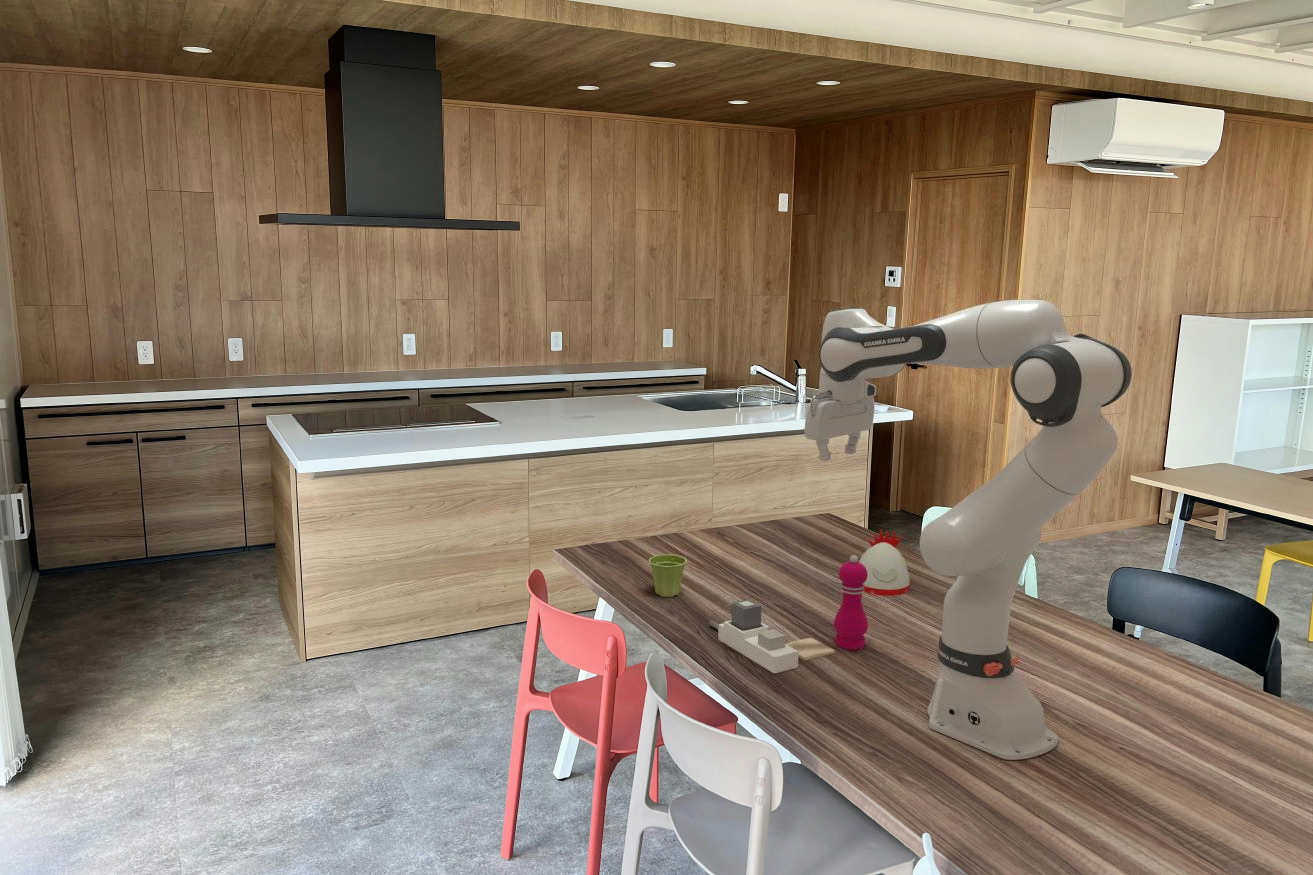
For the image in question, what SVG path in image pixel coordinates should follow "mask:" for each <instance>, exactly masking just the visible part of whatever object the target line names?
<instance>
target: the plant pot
mask: <svg viewBox="0 0 1313 875" xmlns="http://www.w3.org/2000/svg"><path fill="white" fill-rule="evenodd" d="M648 562H649V564H650V568H651V571H652V577H653V584H654V585H653V586H654V590H655V591H654V592H655V594H656V595H659V596H660V597H663V598H672V597H674V596H679V595H680V593H681V586H682V581H683V574H684V569H685V567H686V565H687V562H688V559H687V558H686V557H684V556H681V555H677V554H657V555H654V556H652V557H650V558H649V559H648Z"/></svg>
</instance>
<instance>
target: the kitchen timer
mask: <svg viewBox="0 0 1313 875" xmlns="http://www.w3.org/2000/svg"><path fill="white" fill-rule="evenodd" d="M879 531H880V532H879V535H878V536H879V537H878V536H877V535H876V533H874V534H873V536H874V542H872V541H871V539H870V537H868V543H869V547H868V548H867V549H866V551H864V553H863V554H862V555H861V557H860V559H859V560H858V562H859V563H861V564H863V565H864V566H865V568H866V569H867V574H868V576H867V580H866V581H865V582H864V583H863V584H864V586H865V587H864V592H863V593H866V594H870V595H875V596H882V597H883V596H884V597H886V596H889V597H891V596H892V597H893V596H900V595H904V594H906V593H908V592H909V591H910V586H911V585H910V584H911V580H910V575H909V571H908V566H907V562H908V561H907V560H906V558H904V556H903V555H902V553H901V552H900V550H899V549H898V548H897V547H898V545H899V543H900V541H901V539H902V535H900V536H899V537H898V538H897V539H896V536H897V535H896V531H893V533H892V536H891V538H890V535H889V531H888V530H886V532H885V536H884V534H883V529H880V530H879Z"/></svg>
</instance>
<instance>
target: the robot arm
mask: <svg viewBox="0 0 1313 875" xmlns="http://www.w3.org/2000/svg"><path fill="white" fill-rule="evenodd" d="M822 326H823V327H822V333H821V341H820V342H821V344H820V347H819V351H818V360H819V362H820V365H821V368H820V370H819V385H818V392H817V393H814V395H813V397H812V398H811V399H810V402H809V404H808V406H807V408H806V409H807V410H806V415H805V421H804V430H803V431H804V436H805V438H806V440H811V441H815V444H816V447H817V449H818V451H819V454H818V458H819V460H820V461H822V462H823V461H825V462H826V461H829V460H831V458H832V457H831V454H832V451H830V450H829V447H828V445H830V439H833V438H838V437H843V436H848V440H847V444H845V445H844V453H845V454H847V455H854V454H856V453H857V445H858V443H859V441H860V439H861V433H862V432H865V431H870V430H871V427H872V426H873V423H874V418H875V417H874V416H875V402H876V401H875V396H876V395H877V390H878V389H877V385H876V384H873V383H871V382H869V381H867V380H865V379H877V378H886V377H891V376H894V375H897V374H899V373H900V372H901V371H902V370H903V369H904V368H905V366H906V364H910V365H911V364H919V365H931V366H942V367H951V368H953V367H954V368H963V369H974V370H975V369H976V370H981V369H982V370H985V369H986V370H987V369H989V370H990V369H1002V368H1009V367H1012V369H1011V371H1010V385H1011V386H1010V387H1011V390H1012V393H1013V394H1014V397H1015V398H1016V400H1017V402H1018V403H1019V404H1020V406H1021V407H1023V409H1025V411H1026V412H1027V414H1028V417H1029V418H1030V420H1031V421H1032V422H1033V423H1034V424H1037V425H1039V426H1042V427H1041V429H1040V430H1039V432H1038V433H1037V434H1036V435H1035V436H1034V437H1032V439H1031V440H1030V441H1029V442H1028V443H1027V444H1026V445H1025V446H1024V447H1022V448H1021V450H1020V451H1019V452H1018V453H1017V454H1016V455H1015V456H1014V457H1013V458H1012V459H1011V460H1010V461H1009V462H1008V463H1007V464H1006V465H1005V466H1004V467H1003V468H1002V469H1001V470H1000V471H999V472H998V473H997V474H995V476H994V477H992V478H991V479H990V480H988V481H987V482H985V483H984V484H982V485H981V486H979V488H977V489H975V490H974V491H972V492H971V493H970V494H969V495H967V496H966V497H965V498H963V499H962V500H961V501H959V502H957V504H956V505H955V506H953V507H952V508H950V509H949V510H947V511H946V512H945V513H943V514H942V515H940V516H938V517H937V518H936V519H934V520H931V521H930V522H929V523H927V524H926V525H925V526H924V528H923V529H922V531H921V533H920V537H919V549H920V554H921V556H922V558H923V561H924V562H925V564H926V565H927V566H928V567H929V569H930V570H932V571H934V573H937V574H939V575H941V576H948V577H949V576H951V577H952V576H953V577H957V578H956V579H955V581H954V583H953V584H952V585H951V587H950V588H949V589H948V591H947V592H946V594H945V596H944V599H943V610H942V612H943V613H942V625H941V626H942V627H941V628H942V629H941V635H940V637H939V640H938V646H937V660H939V662H938V663H939V664H938V669H937V677H936V681H935V684H934V689H933V693H932V696H931V699H930V701H929V704H928V707H927V710H926V712H927V715H928V717H929V720H928V728H930V729H931V730H934V731H936V732H938V733H940V734H943V735H945V736H948V737H950V738H953V739H955V740H957V741H959V742H962V743H964V744H966V745H968V746H971V747H974V748H976V749H979V750H981V751H983V752H986V753H988V754H991V755H993V756H995V757H997V758H1000V759H1003V760H1006V761H1007V760H1008V761H1009V760H1010V761H1011V760H1015V761H1016V760H1017V761H1019V760H1026V759H1031V758H1034V757H1038V756H1040V755H1043V754H1045V753H1048V752H1050V751H1052V750H1053V749H1055V748H1056V747H1057V745H1058V743H1059V735H1058V734H1057V733H1056V732H1054V731H1052V730H1051V729H1049V728H1048V727H1047V726H1045V714H1044V708H1043V706H1042V703H1041V702H1040V700H1039V699H1038V698H1036V696H1035V695H1034V693H1033V692H1032V691H1031V690H1030V689H1029V688H1028V686H1027V685H1026V684H1025V683H1024V682H1023V680H1022V679H1021V677H1020V676H1018V674H1017V673H1016V672H1015V666H1014V665H1018V664H1020V661H1019V660H1020V659H1021V658H1020V657H1019V656H1018V657H1014V658H1012V653H1011V651H1010V647H1009V645H1008V636H1009V626H1010V625H1009V624H1010V616H1011V608H1012V603H1013V599H1014V596H1015V593H1016V590H1017V587H1018V584H1019V581H1020V578H1021V576H1022V573H1023V571H1024V569H1025V566H1026V564H1027V562H1028V559H1029V558H1030V556H1031V555H1032V554H1033V552H1034V551H1035V549H1037V548H1038V546H1039V544H1040V542H1041V539H1042V528H1041V527H1042V526H1045V525H1046V524H1047V523H1049V522H1051V520H1052V519H1053V518H1055V517H1056V516H1057V515H1058V514H1059V513H1060V512H1061V511H1062V510H1063V509H1065V507H1067V506H1068V505H1069V504H1070V503H1071V502H1072V501H1073V500H1074V499H1076V497H1078V496H1079V495H1080V494H1081V493H1082V492H1084V490H1085V489H1086V488H1087V487H1089V485H1090V484H1091V483H1092V482H1093V481H1094V480H1095V479H1096V478H1097V476H1098V475H1099V474H1100V473H1101V472H1102V471H1103V470H1104V468H1105V467H1106V465H1108V463H1109V462H1110V460H1111V459H1112V457H1113V456H1114V454H1115V452H1116V450H1117V448H1118V443H1119V442H1118V436H1117V432H1116V431H1115V429H1114V427H1113V425H1112V424H1111V423H1110V422H1109V421H1108V420H1107V419H1106V418H1105V417H1104V414H1103V411H1102V408H1104V407H1106V406H1109V405H1111V404H1113V403H1115V402H1116V401H1118V400H1119V399H1120V398H1121V397H1122V396H1124V394H1125V393H1126V391H1127V390H1128V389H1129V387H1130V385H1131V382H1132V374H1133V372H1132V367H1131V363H1130V361H1129V359H1128V357H1127V356H1126V355H1125V354H1124V353H1123V352H1122V351H1121V350H1119V348H1116V347H1115V346H1112V345H1111V344H1110V343H1109V344H1108V343H1106V342H1105V341H1104V342H1103V341H1101V340H1099V339H1096V338H1093V337H1091V336H1089V335H1087V334H1085V333H1078V334H1075V335H1070V333H1069V332H1068V331H1067V330H1066V324H1065V319H1064V317H1063V315H1062V313H1061V311H1060V309H1059V308H1058V307H1057V306H1056V305H1055V304H1053V303H1052V302H1050V301H1047V300H1043V299H1008V300H1000V301H993V302H987V303H983V304H978V305H975V306H971V307H967V308H965V309H962V310H959V311H956V312H952V313H949V314H946V315H943V316H940V317H937V318H934V319H931V320H927V321H925V322H921V323H919V324H915V325H911V326H906V327H901V328H891V327H889V326H887V325H885V324H883V323H880V322H879V321H877V320H875V319H874V318H873V317H872V316H870V315H869V313H868V311H867V310H865V309H864V308H862V307H857V306H856V307H854V306H853V307H845V308H844V307H843V308H836V309H833V310H830V311H829V312H828V313H827V314H826V316H825V319H824V322H823V325H822ZM1037 419H1038V420H1040V421H1038V420H1037Z"/></svg>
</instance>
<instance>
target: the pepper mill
mask: <svg viewBox="0 0 1313 875" xmlns="http://www.w3.org/2000/svg"><path fill="white" fill-rule="evenodd" d="M867 576H868V574H867V569H866V568H865V566H864V565H863V564H861V563H859V558H858V556H857V555H855V554H853V555H851V556H850V557H849V561H847V562H844V563H843V564H842V565H841V566H840V568H839V571H838V577H839V579H840V581H841V583H840V591H841V592H842V600H841V605H840V607H839V609H838V611H837V613H836V614H835V617H834V620H833V628H834V630H835V631H836V632H837V633H836V634H835V640H834V641H835V645H836V646H837V647H839V648H840V649H843V650H851V651H854V650H855V651H856V650H861V649H863V648H864V647H866V646H865V645H866V637H865V636H864V635H865V634H866V633H867V632H868V630H869V622H868V619H867V615H866V613H865V611H864V609H863V604H862V596H863V594H864V593H865V592H864V587H865V586H864V584H863V583H864V582H865V581H866V580H867Z"/></svg>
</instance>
